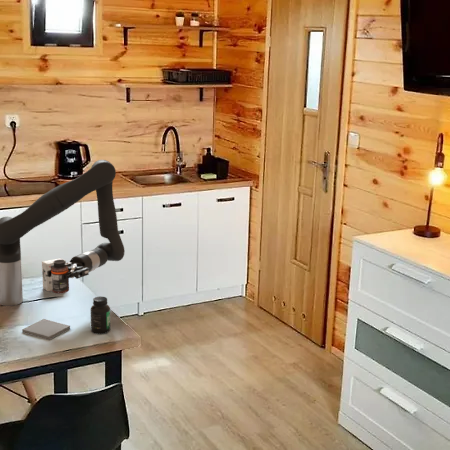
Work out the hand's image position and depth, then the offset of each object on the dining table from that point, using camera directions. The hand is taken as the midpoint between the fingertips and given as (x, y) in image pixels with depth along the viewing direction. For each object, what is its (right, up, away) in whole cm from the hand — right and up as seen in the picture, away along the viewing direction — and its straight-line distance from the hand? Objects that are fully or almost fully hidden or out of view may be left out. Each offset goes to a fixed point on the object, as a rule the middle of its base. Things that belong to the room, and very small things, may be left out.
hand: (55, 275), depth 248 cm
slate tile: (-3, -19, 0) cm, 20 cm away
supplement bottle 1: (+1, -6, +4) cm, 7 cm away
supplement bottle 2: (+16, -20, +2) cm, 25 cm away
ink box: (-10, -8, +42) cm, 44 cm away
